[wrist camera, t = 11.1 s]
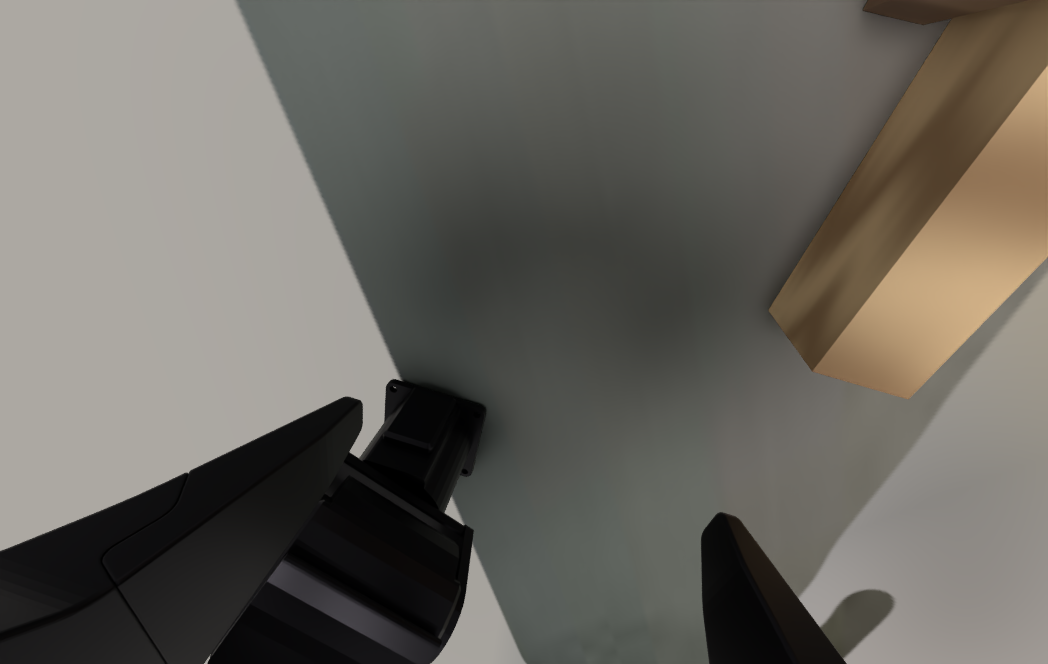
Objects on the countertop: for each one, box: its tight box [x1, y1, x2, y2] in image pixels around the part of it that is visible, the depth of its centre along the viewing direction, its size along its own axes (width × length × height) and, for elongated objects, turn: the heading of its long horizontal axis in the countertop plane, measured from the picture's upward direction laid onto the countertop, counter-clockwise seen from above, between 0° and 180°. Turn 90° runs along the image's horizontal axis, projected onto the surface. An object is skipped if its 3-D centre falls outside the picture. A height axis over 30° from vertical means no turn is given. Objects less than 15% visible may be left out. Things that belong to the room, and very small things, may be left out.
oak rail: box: [768, 0, 1048, 399], centre depth 13 cm, size 14×4×5 cm, turn 168°
